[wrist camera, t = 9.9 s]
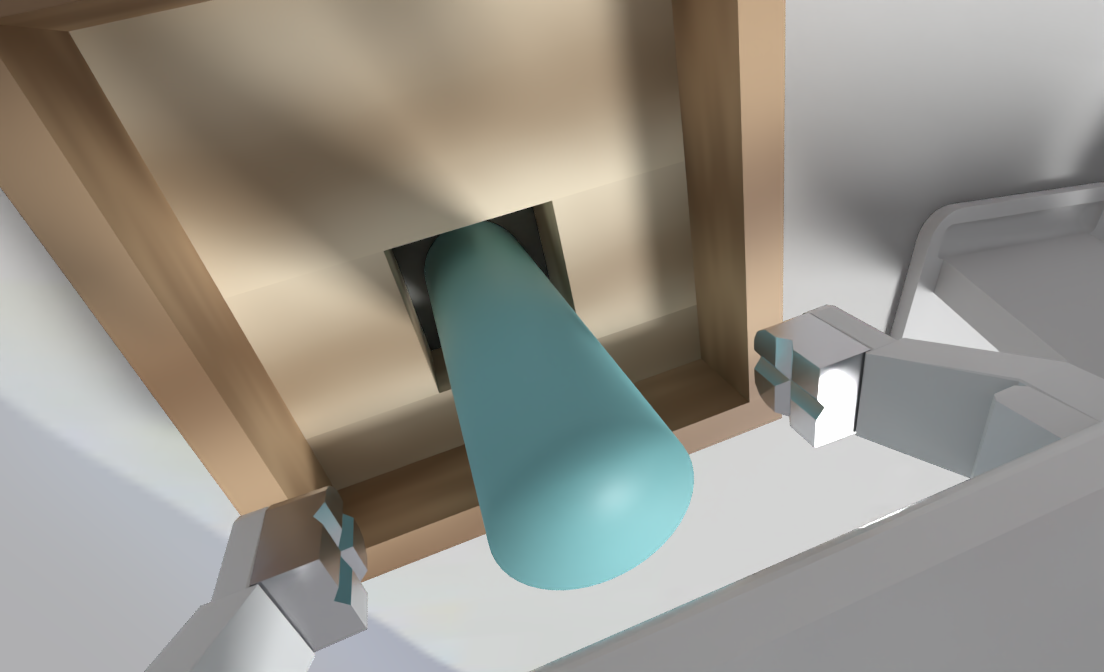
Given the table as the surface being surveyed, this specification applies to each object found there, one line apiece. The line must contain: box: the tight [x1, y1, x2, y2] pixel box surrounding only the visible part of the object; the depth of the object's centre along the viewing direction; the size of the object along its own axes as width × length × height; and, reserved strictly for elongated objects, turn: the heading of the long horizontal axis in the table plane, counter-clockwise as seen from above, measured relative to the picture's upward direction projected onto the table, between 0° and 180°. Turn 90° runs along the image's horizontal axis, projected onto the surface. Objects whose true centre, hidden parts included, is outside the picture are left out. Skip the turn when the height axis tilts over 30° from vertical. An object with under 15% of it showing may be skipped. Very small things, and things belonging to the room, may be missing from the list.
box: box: [0, 0, 785, 582], centre depth 16 cm, size 16×16×6 cm
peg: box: [424, 221, 694, 590], centre depth 14 cm, size 4×4×12 cm
